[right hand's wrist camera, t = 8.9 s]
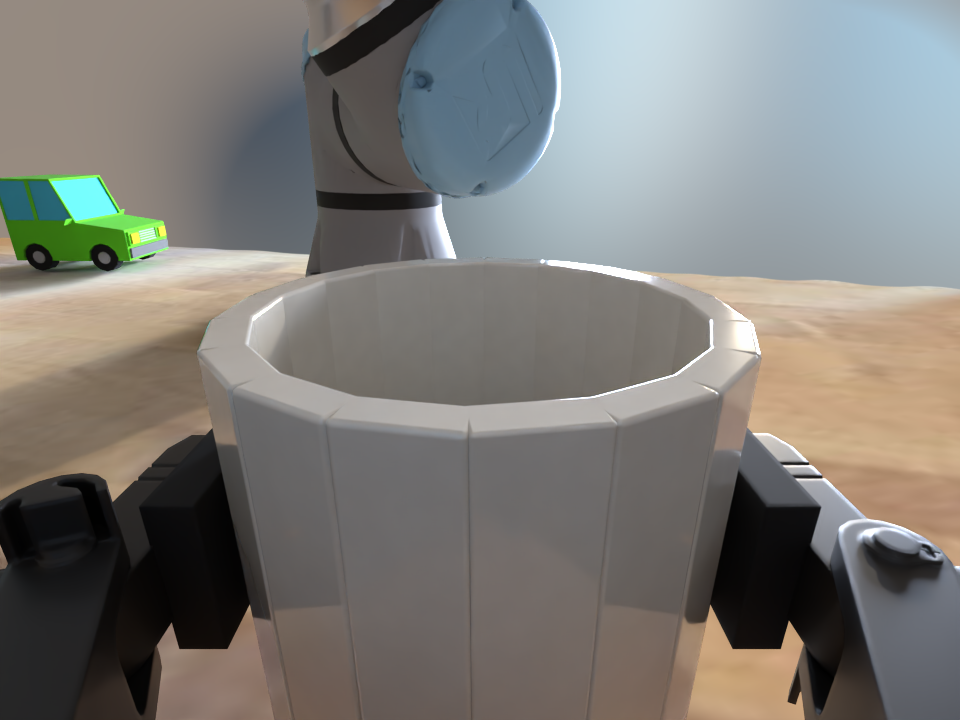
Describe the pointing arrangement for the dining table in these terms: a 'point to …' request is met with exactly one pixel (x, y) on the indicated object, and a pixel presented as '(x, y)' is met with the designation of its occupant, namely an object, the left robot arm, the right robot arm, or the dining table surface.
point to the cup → (480, 485)
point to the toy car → (74, 222)
